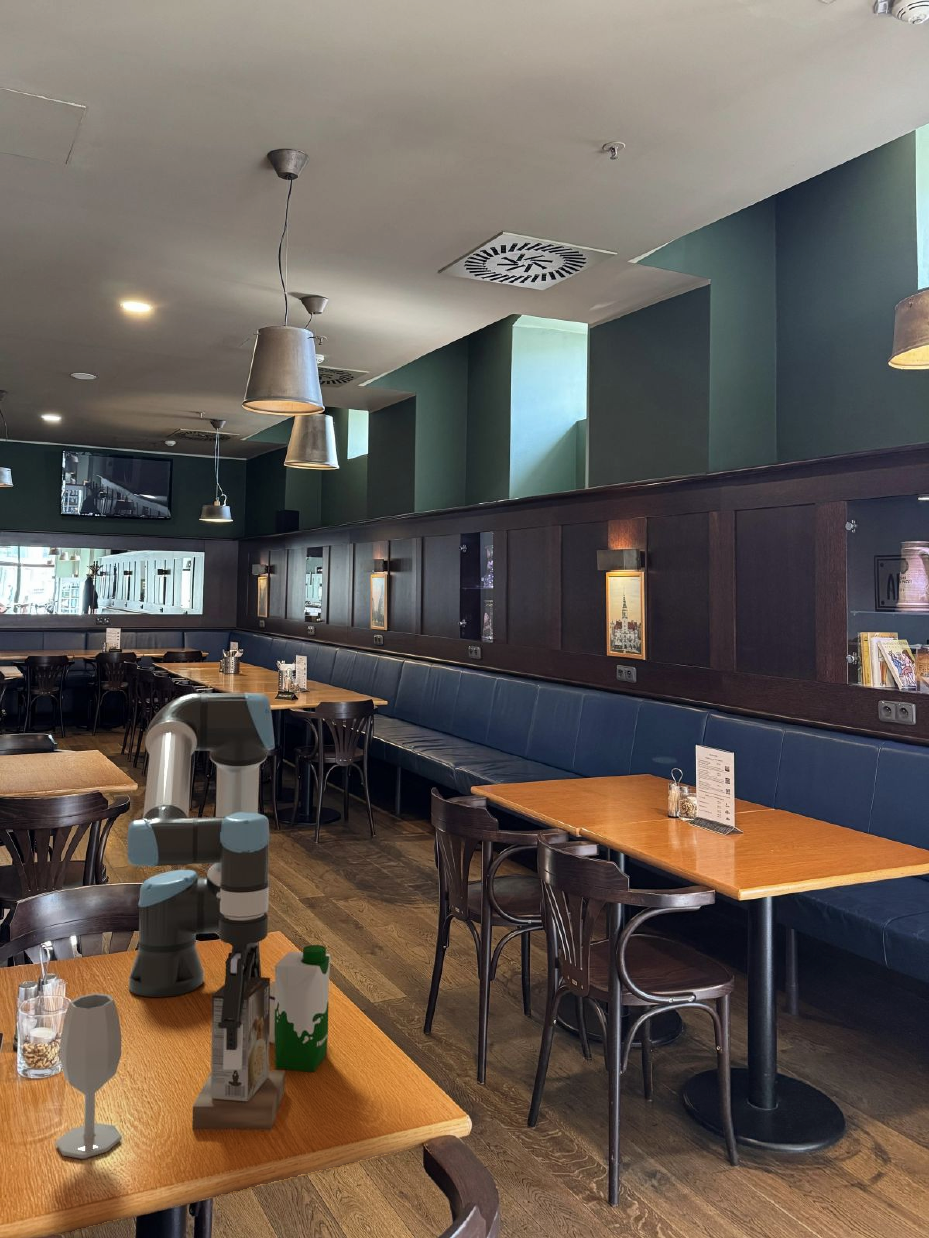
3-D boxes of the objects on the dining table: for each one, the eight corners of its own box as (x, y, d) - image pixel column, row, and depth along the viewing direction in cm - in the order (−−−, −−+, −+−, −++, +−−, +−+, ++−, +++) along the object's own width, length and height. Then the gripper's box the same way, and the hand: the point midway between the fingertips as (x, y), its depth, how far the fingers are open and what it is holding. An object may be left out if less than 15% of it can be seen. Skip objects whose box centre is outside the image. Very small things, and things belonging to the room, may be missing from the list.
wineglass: (44, 1147, 140) (47, 1003, 140) (96, 1122, 147) (99, 985, 147) (80, 1166, 135) (83, 1017, 135) (133, 1140, 142) (135, 998, 143)
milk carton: (317, 1075, 164) (319, 957, 164) (267, 1070, 165) (269, 953, 166) (333, 1052, 172) (335, 941, 173) (285, 1048, 174) (287, 938, 174)
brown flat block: (211, 1094, 158) (211, 1070, 158) (284, 1094, 158) (285, 1070, 158) (192, 1132, 146) (192, 1106, 146) (271, 1132, 146) (271, 1106, 146)
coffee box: (232, 1073, 157) (234, 974, 157) (270, 1076, 156) (271, 976, 156) (209, 1099, 148) (211, 993, 148) (248, 1102, 147) (250, 996, 147)
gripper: (236, 892, 164) (234, 1019, 164) (200, 937, 140) (197, 1086, 140) (280, 892, 164) (278, 1019, 164) (252, 937, 140) (249, 1086, 140)
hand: (241, 1050), depth 152 cm, fingers open, 12 cm apart
